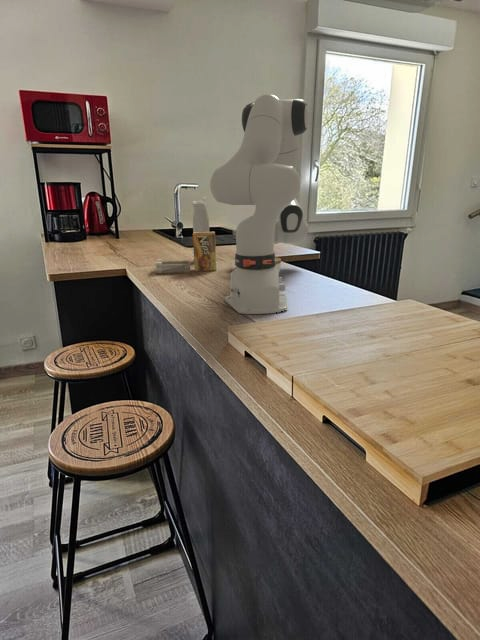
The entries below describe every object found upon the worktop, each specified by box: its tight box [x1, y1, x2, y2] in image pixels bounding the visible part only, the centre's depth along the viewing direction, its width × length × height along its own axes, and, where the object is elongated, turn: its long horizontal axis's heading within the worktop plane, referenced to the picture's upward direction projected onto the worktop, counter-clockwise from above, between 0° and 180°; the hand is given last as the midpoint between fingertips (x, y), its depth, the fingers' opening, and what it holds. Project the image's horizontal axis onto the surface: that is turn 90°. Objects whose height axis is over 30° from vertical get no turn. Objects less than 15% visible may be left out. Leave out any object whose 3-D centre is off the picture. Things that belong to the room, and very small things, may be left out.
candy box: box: [192, 231, 217, 272], centre depth 171 cm, size 9×4×15 cm, turn 92°
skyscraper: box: [191, 196, 210, 261], centre depth 189 cm, size 8×8×28 cm
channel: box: [155, 258, 191, 276], centre depth 171 cm, size 10×13×4 cm
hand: (234, 234), depth 171 cm, fingers open, 8 cm apart
